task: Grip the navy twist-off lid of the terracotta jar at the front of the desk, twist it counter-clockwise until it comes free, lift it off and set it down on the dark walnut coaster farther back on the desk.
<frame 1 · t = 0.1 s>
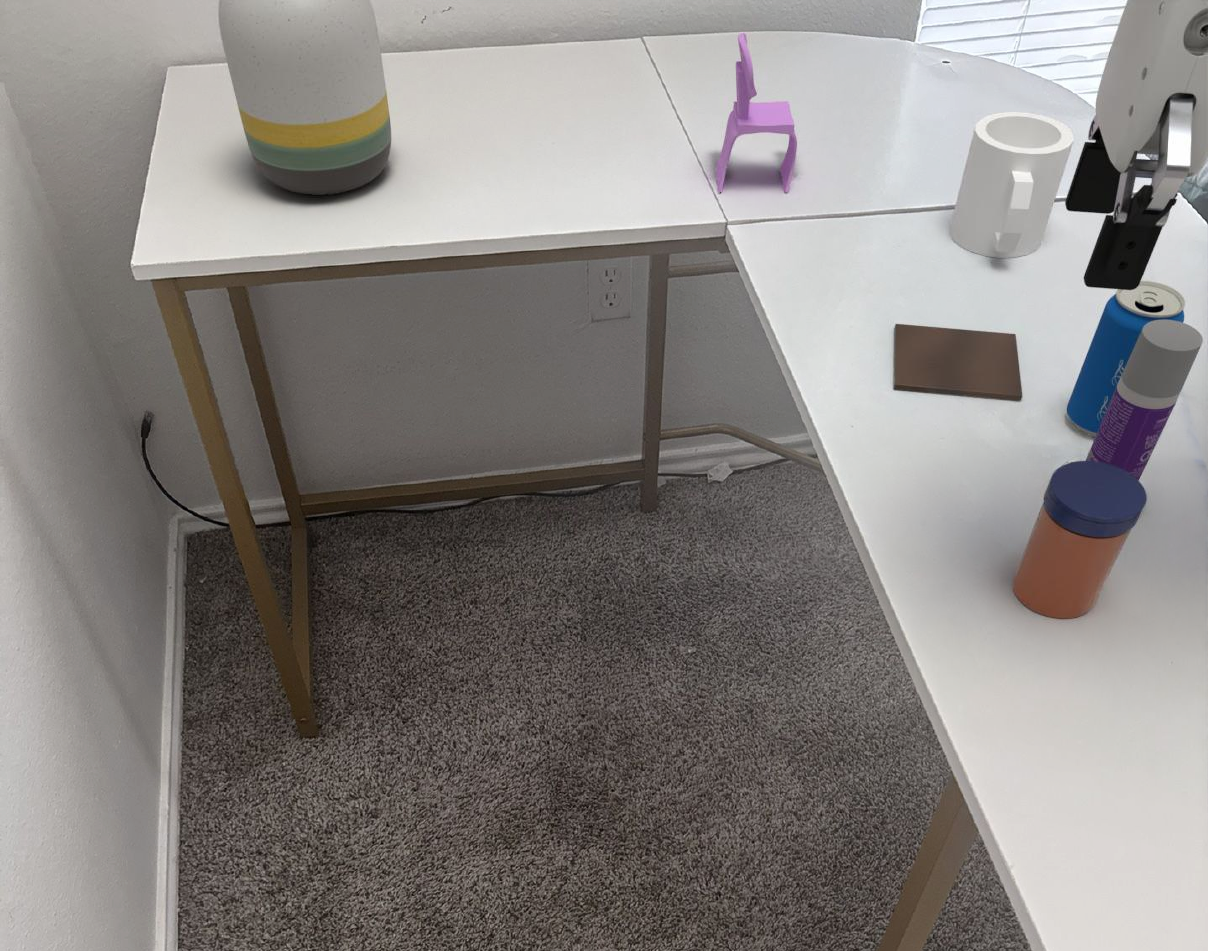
hand: (1098, 246, 69), 26 cm above the table, tool pointing down, fingers open, 9 cm apart
mug: (993, 241, 122), on the table
beverage can: (1098, 423, 102), on the table
toy chair: (752, 182, 131), on the table
vase: (328, 177, 132), on the table
jar lid: (1096, 493, 80), point 9 cm above the table, screwed on, not yet turned
container: (1099, 498, 95), on the table
jar: (1053, 590, 88), on the table
coaster: (955, 363, 108), on the table
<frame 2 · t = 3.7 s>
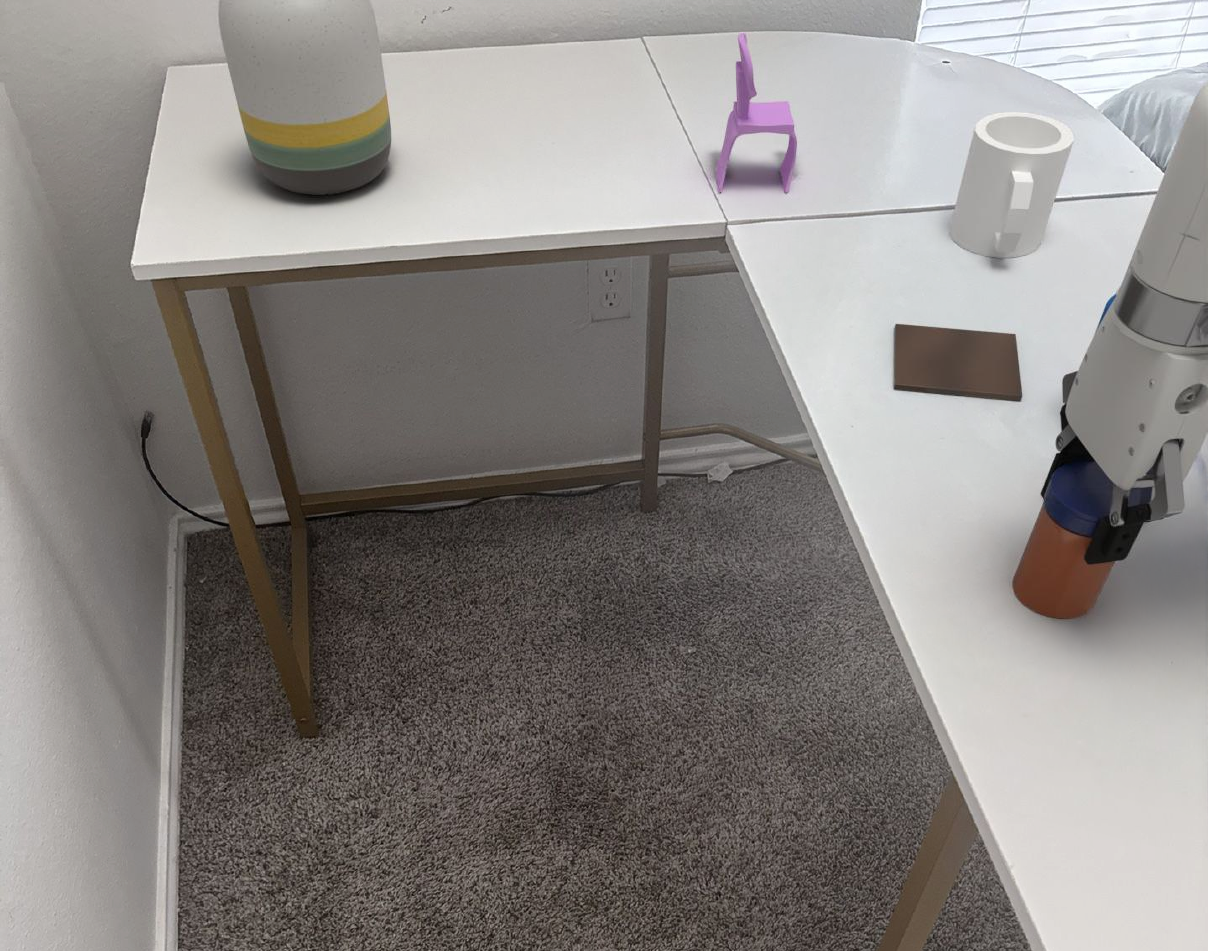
hand: (1081, 525, 83), 6 cm above the table, tool pointing down, fingers closed on jar lid, 6 cm apart
jar lid: (1096, 493, 80), point 9 cm above the table, screwed on, not yet turned, touching gripper
everything else where it was.
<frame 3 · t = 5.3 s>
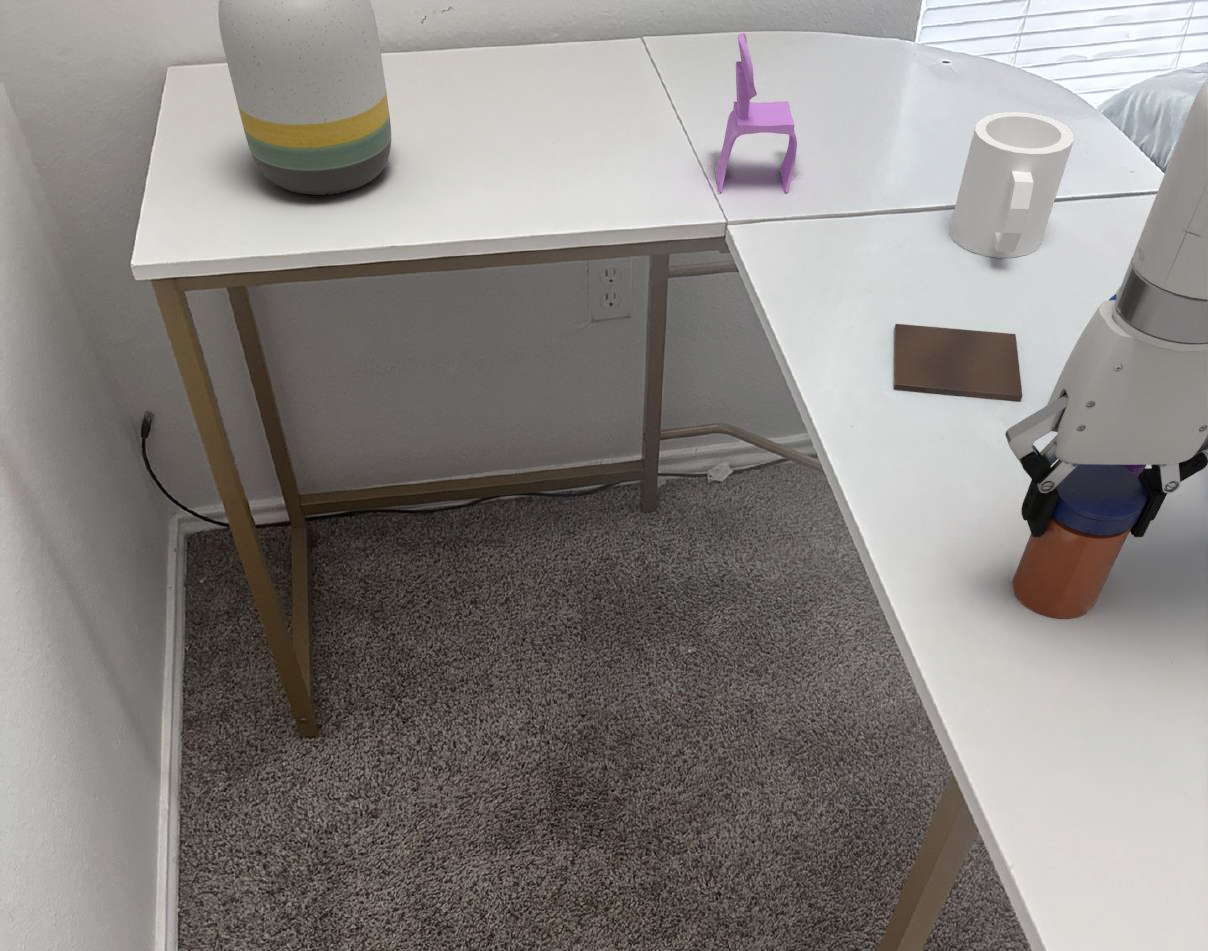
hand: (1082, 523, 83), 7 cm above the table, tool pointing down, fingers closed on jar lid, 6 cm apart
jar lid: (1097, 491, 80), point 10 cm above the table, turned 79° so far, risen 0.2 cm, still on its thread, touching gripper
everything else where it was.
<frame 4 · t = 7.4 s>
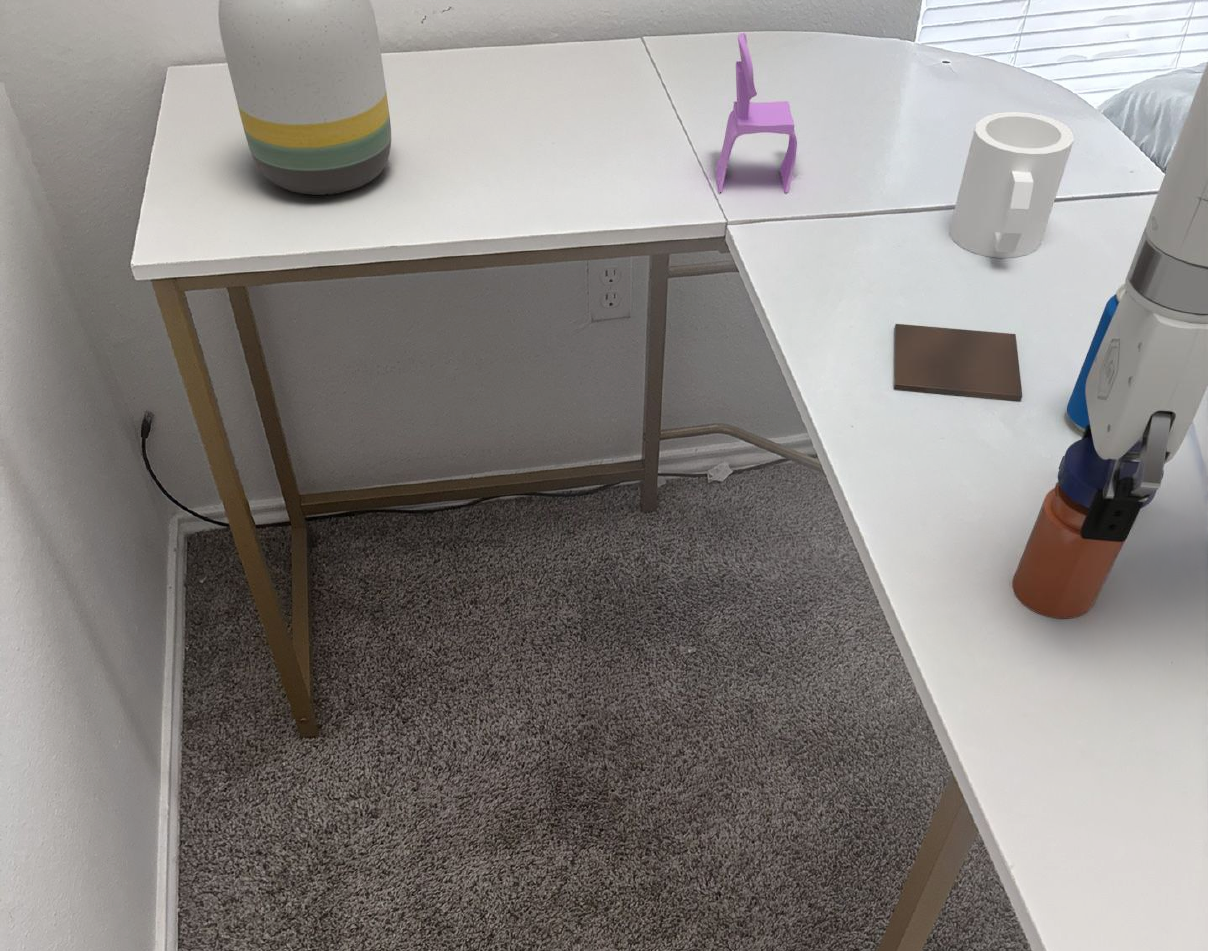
hand: (1097, 503, 81), 9 cm above the table, tool pointing down, fingers closed on jar lid, 6 cm apart
jar lid: (1111, 468, 79), point 12 cm above the table, off its thread, touching gripper
everything else where it was.
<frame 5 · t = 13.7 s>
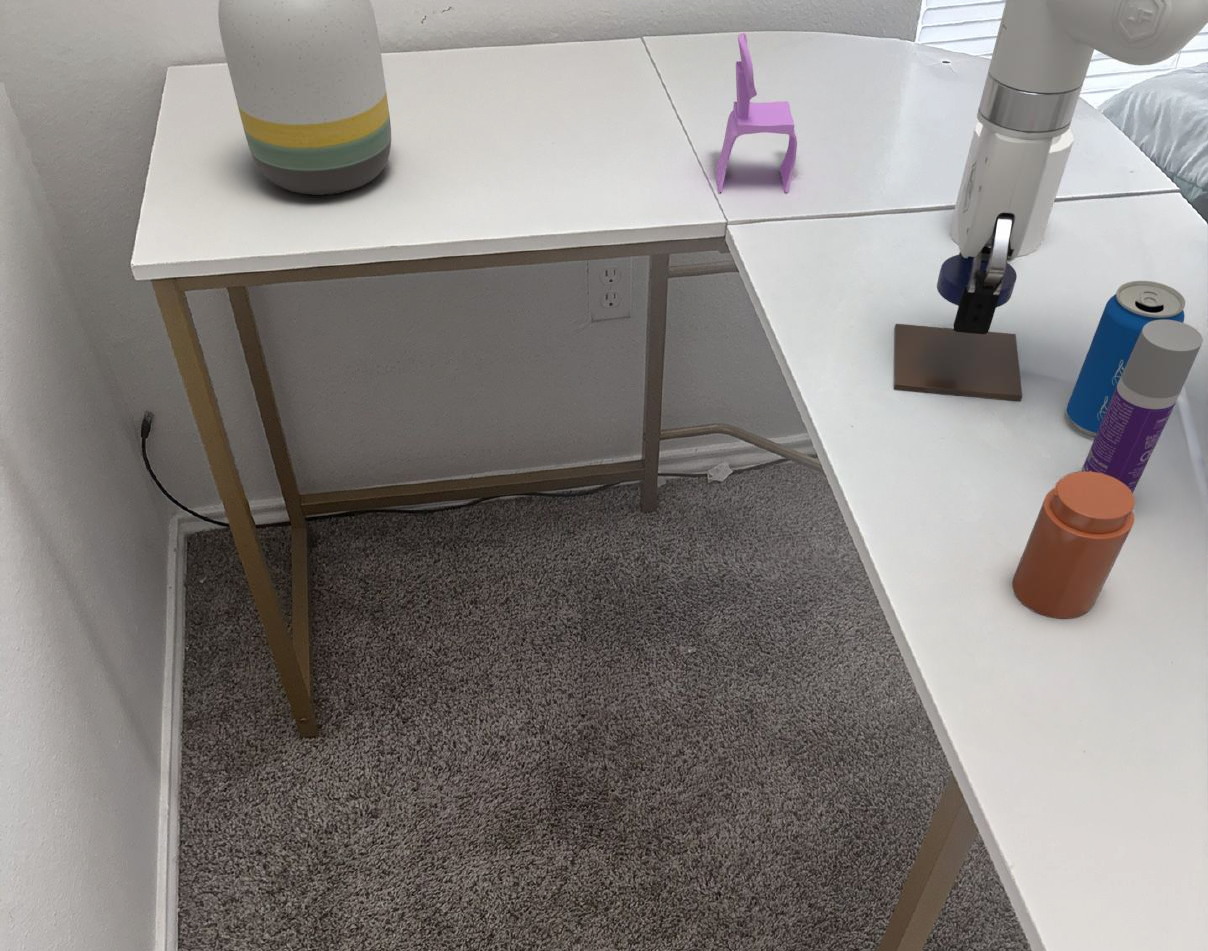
hand: (969, 308, 103), 6 cm above the table, tool pointing down, fingers closed on jar lid, 6 cm apart
jar lid: (977, 276, 101), point 9 cm above the table, off its thread, touching gripper
everything else where it was.
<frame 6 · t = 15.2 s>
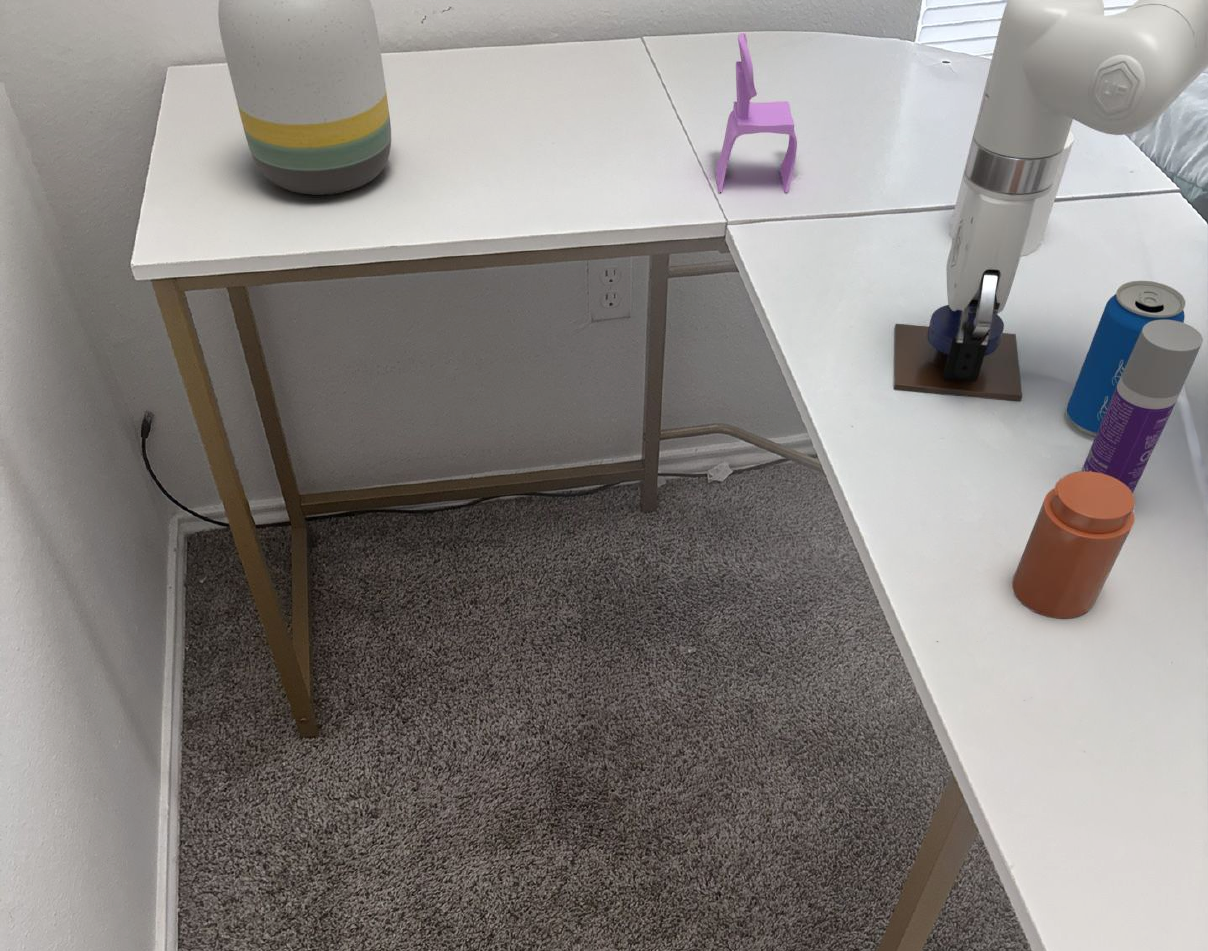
hand: (958, 356, 107), 1 cm above the table, tool pointing down, fingers closed on jar lid, 6 cm apart
jar lid: (966, 326, 104), point 4 cm above the table, off its thread, touching gripper
everything else where it was.
when the fingers open (2 cm above the table, at t = 23.9 s): jar lid drops 3 cm, resting on coaster.
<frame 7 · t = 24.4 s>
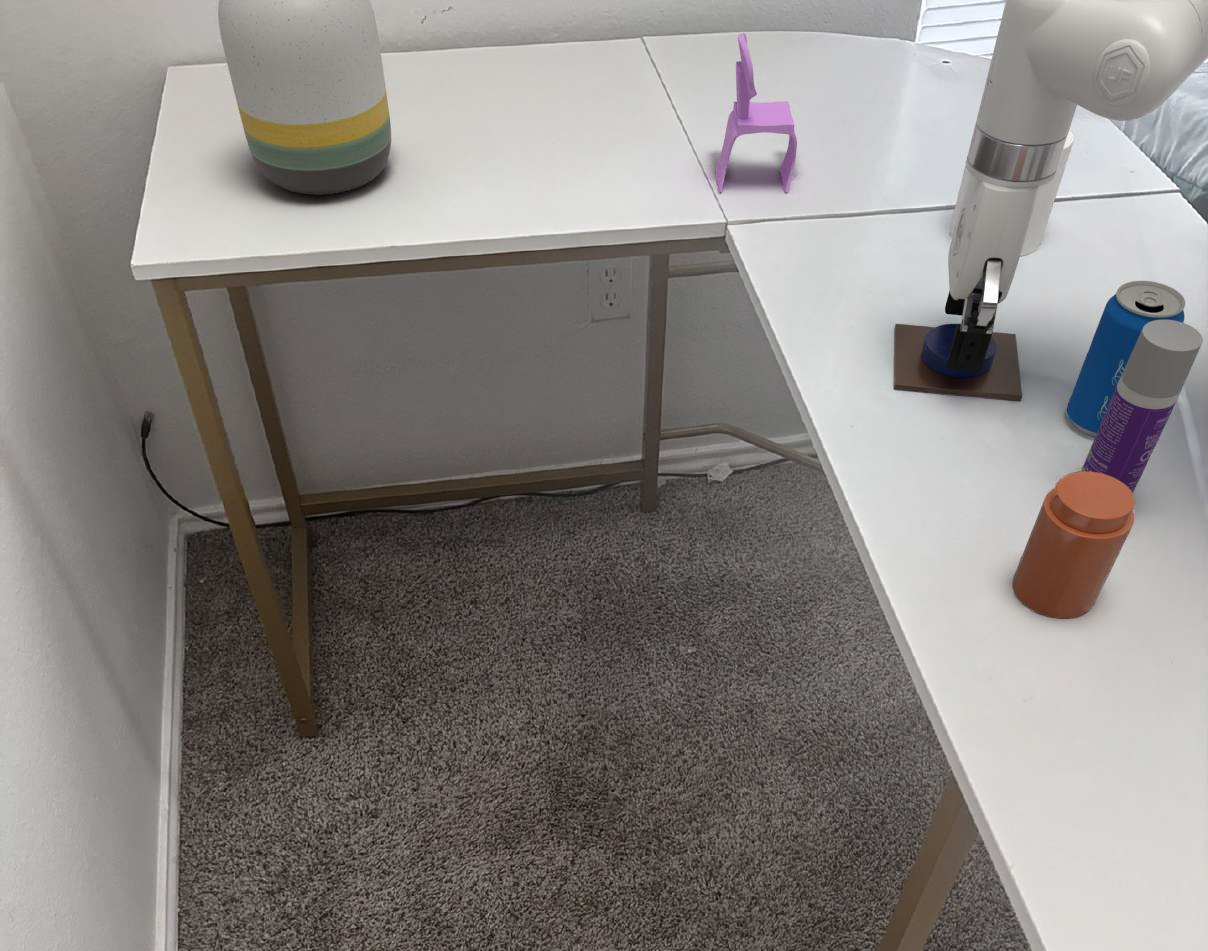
hand: (961, 340, 106), 2 cm above the table, tool pointing down, fingers open, 9 cm apart
jar lid: (959, 346, 106), point 2 cm above the table, off its thread, touching coaster
everything else where it was.
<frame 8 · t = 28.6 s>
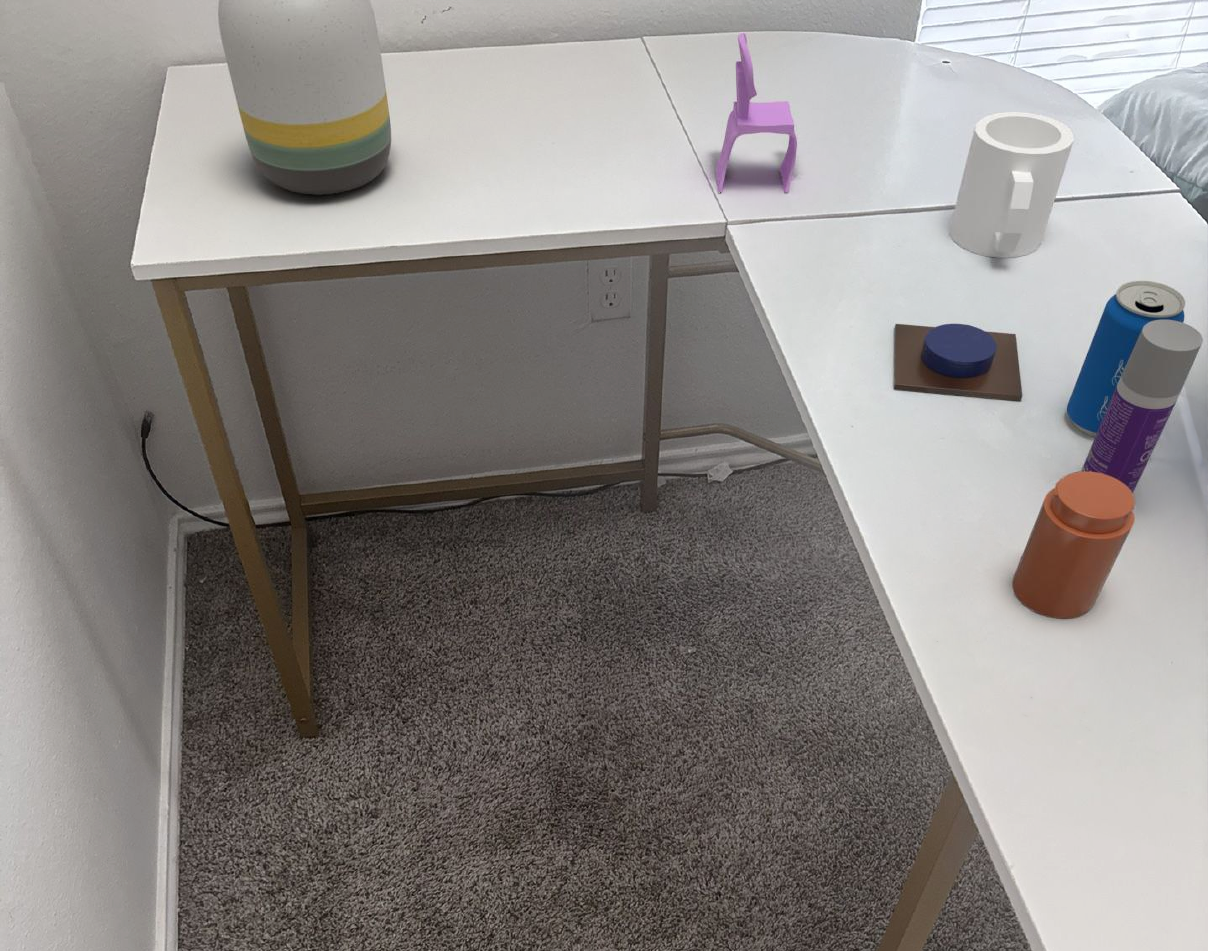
nothing on the table moved.
at the end: jar lid inside the target area on the coaster (0.0 cm from its centre), point 1.9 cm above the coaster's base; jar lid point 1.9 cm above the table; the gripper is holding nothing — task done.
